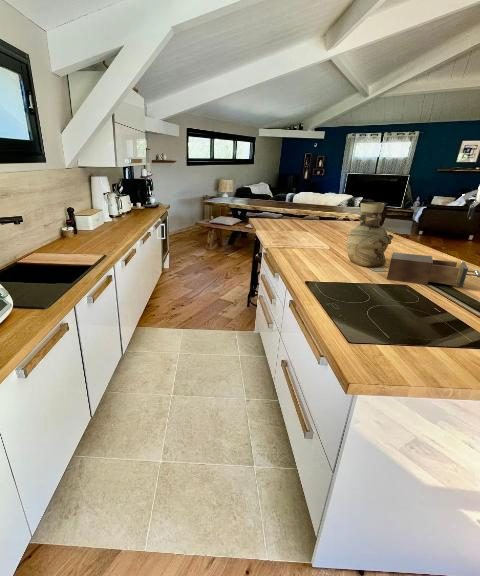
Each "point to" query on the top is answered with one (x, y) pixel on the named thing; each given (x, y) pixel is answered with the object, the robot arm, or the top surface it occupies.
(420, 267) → the cabinet
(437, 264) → the drawer
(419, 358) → the top surface
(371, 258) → the ceramic vessel
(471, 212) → the robot arm
